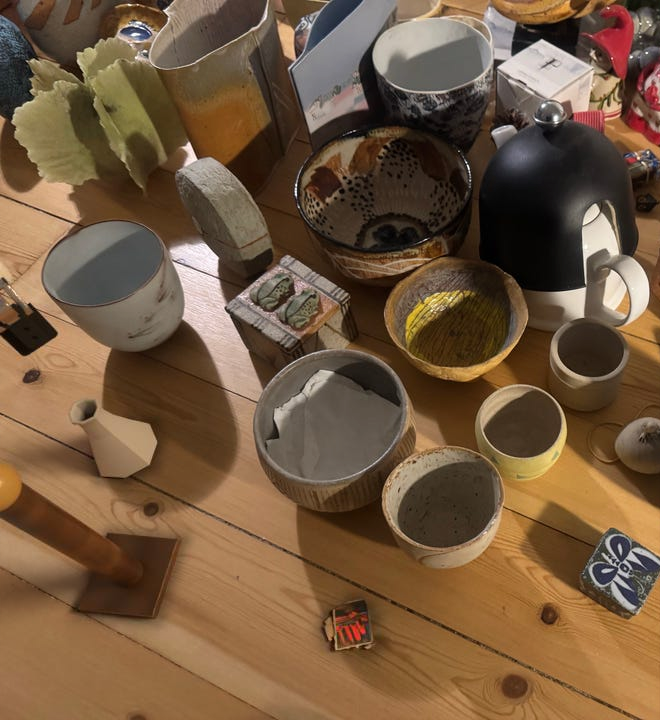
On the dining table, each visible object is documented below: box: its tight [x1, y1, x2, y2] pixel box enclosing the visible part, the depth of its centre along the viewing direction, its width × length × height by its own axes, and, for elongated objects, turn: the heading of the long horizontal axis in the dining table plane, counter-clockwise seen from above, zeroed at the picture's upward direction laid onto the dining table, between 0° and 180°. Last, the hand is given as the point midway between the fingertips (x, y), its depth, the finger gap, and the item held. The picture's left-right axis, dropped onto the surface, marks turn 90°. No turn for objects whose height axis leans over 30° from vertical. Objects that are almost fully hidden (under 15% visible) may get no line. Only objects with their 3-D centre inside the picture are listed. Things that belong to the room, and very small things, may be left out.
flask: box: [67, 397, 158, 479], centre depth 79 cm, size 7×7×10 cm
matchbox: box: [323, 598, 377, 651], centre depth 71 cm, size 5×5×1 cm
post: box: [0, 461, 182, 619], centre depth 64 cm, size 8×8×26 cm
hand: (13, 311), depth 61 cm, fingers open, 9 cm apart
